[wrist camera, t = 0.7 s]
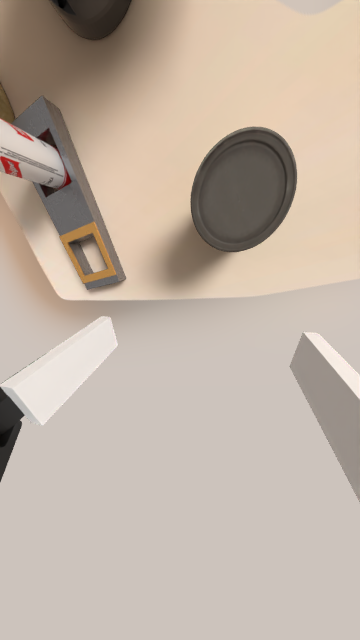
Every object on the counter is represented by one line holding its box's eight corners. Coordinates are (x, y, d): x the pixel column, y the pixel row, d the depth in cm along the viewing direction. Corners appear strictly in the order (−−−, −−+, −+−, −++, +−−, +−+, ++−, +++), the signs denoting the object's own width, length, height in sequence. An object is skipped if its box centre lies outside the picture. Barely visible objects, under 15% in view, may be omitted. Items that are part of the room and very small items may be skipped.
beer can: (43, 149, 31) (-104, 76, 17) (71, 150, 30) (-62, 73, 16) (53, 190, 34) (-65, 156, 20) (78, 192, 33) (-28, 158, 19)
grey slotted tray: (23, 137, 30) (3, 127, 28) (59, 108, 27) (40, 93, 24) (95, 286, 42) (86, 290, 39) (126, 278, 39) (118, 281, 36)
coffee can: (276, 209, 26) (323, 183, 14) (230, 258, 32) (235, 270, 19) (233, 162, 25) (245, 90, 13) (192, 221, 30) (172, 209, 18)
